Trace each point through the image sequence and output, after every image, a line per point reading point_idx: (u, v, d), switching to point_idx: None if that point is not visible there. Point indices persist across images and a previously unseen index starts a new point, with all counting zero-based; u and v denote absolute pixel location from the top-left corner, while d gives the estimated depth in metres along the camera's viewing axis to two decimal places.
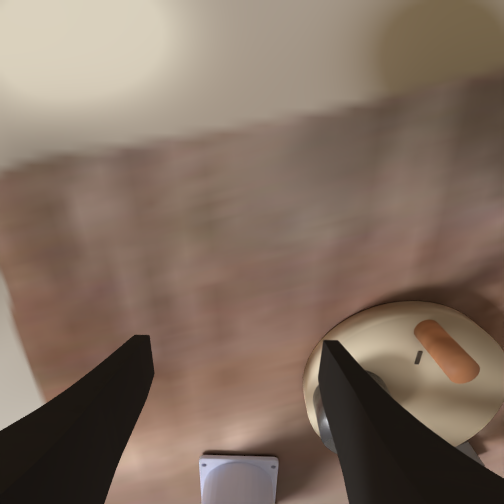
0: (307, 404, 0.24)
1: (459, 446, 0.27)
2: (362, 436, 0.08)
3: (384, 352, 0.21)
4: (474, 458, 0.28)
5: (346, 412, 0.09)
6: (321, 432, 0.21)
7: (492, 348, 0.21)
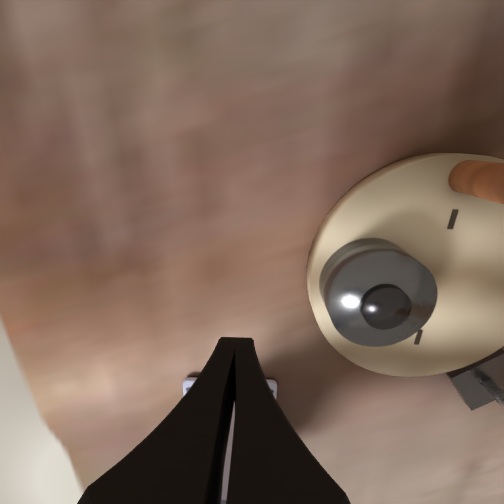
0: (312, 292, 0.19)
1: (494, 359, 0.22)
2: None
3: (409, 211, 0.17)
4: None
5: None
6: (331, 308, 0.16)
7: None
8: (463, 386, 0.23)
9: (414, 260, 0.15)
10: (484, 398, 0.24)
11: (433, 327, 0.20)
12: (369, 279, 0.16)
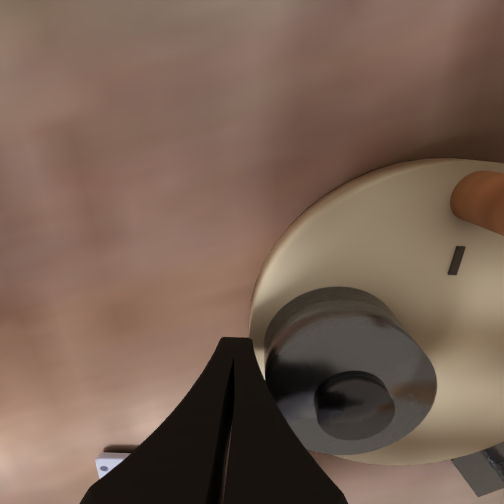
0: None
1: None
2: None
3: (390, 248, 0.11)
4: None
5: None
6: None
7: None
8: (467, 470, 0.18)
9: (399, 337, 0.09)
10: (495, 483, 0.18)
11: None
12: (327, 363, 0.10)
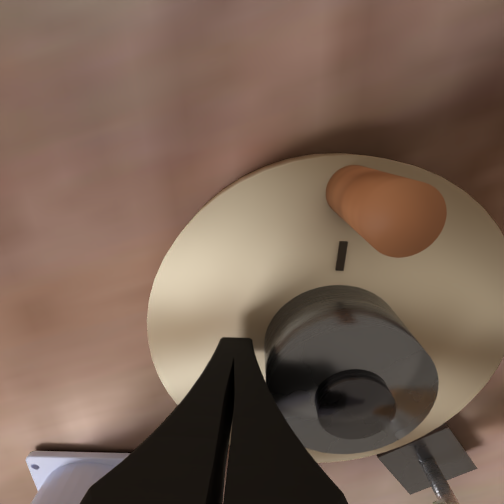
0: (153, 356, 0.13)
1: (434, 435, 0.16)
2: None
3: (273, 244, 0.11)
4: (459, 455, 0.17)
5: None
6: None
7: (484, 234, 0.11)
8: (395, 467, 0.17)
9: (398, 334, 0.09)
10: (425, 480, 0.18)
11: None
12: (326, 363, 0.10)
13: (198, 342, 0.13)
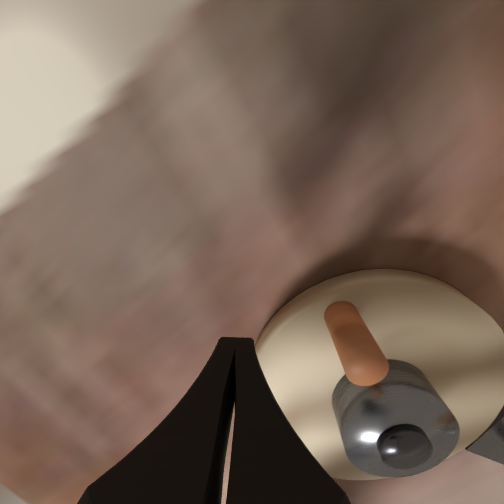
0: None
1: (502, 420, 0.20)
2: None
3: (309, 359, 0.17)
4: None
5: None
6: (352, 461, 0.16)
7: (444, 299, 0.15)
8: (485, 452, 0.21)
9: (407, 399, 0.14)
10: None
11: None
12: (373, 429, 0.15)
13: (292, 426, 0.19)
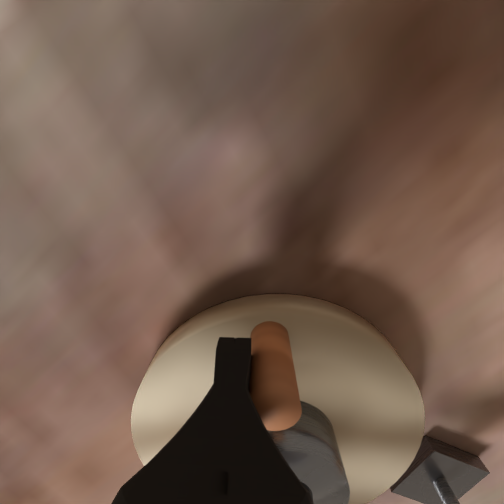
0: (140, 456, 0.16)
1: (427, 461, 0.18)
2: None
3: None
4: (464, 468, 0.18)
5: None
6: None
7: (381, 356, 0.14)
8: (413, 494, 0.19)
9: (308, 454, 0.12)
10: None
11: None
12: None
13: None
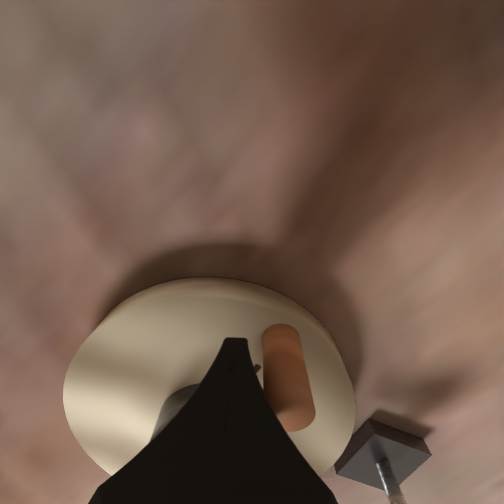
0: (68, 372, 0.15)
1: (368, 443, 0.18)
2: None
3: (210, 344, 0.14)
4: (406, 450, 0.18)
5: None
6: None
7: (346, 402, 0.15)
8: (358, 476, 0.19)
9: None
10: None
11: None
12: None
13: (113, 379, 0.15)
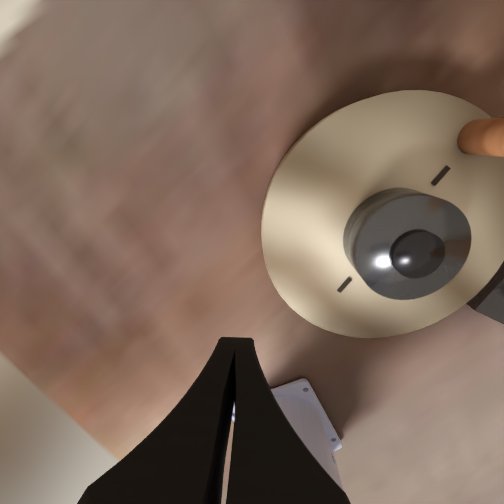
0: (278, 176, 0.17)
1: None
2: None
3: (412, 142, 0.16)
4: None
5: None
6: (367, 231, 0.15)
7: None
8: (494, 312, 0.21)
9: (466, 221, 0.15)
10: None
11: (362, 282, 0.19)
12: (420, 218, 0.15)
13: (315, 184, 0.17)
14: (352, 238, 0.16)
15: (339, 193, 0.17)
